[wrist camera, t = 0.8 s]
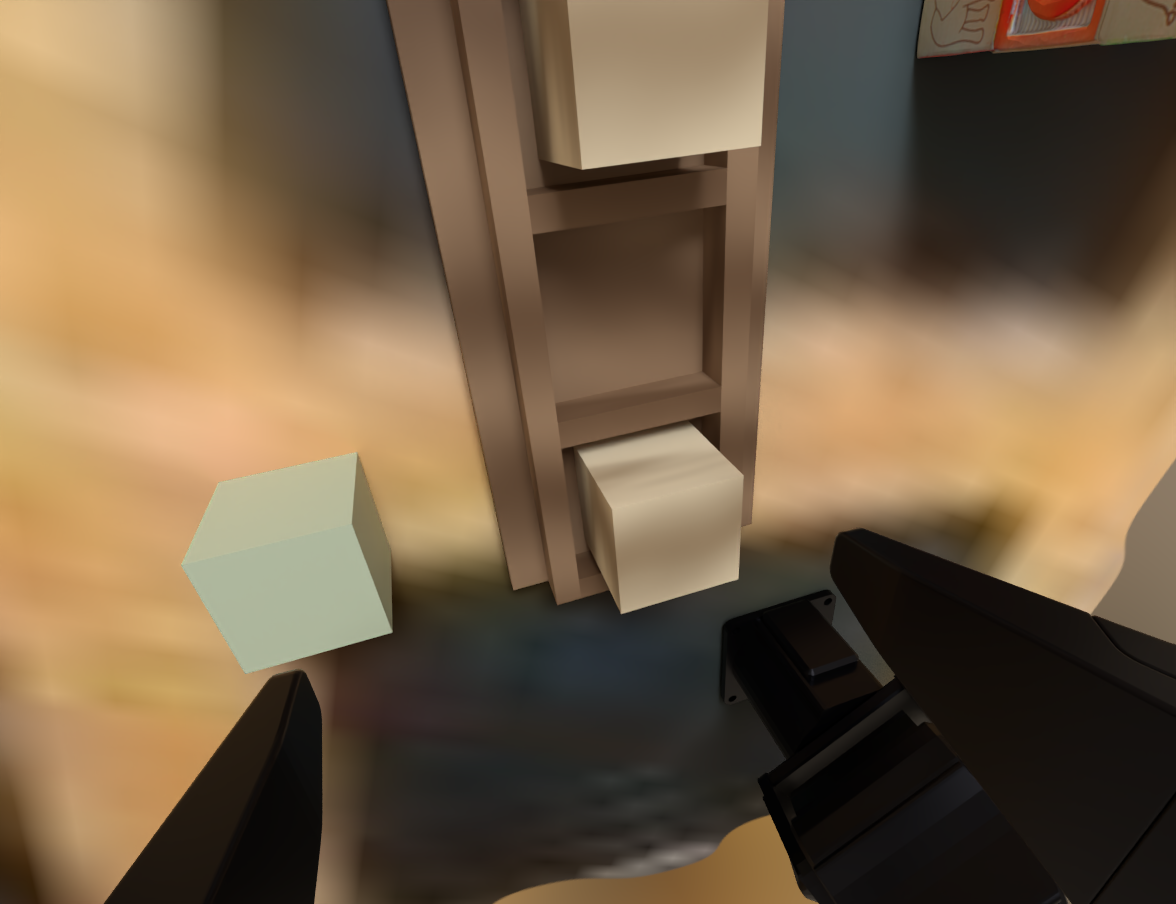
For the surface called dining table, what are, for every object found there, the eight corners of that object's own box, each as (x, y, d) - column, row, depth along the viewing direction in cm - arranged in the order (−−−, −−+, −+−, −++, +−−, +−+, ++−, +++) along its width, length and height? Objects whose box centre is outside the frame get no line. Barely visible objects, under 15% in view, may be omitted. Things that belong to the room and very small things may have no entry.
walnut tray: (740, 511, 27) (769, 543, 25) (509, 574, 25) (520, 615, 23) (773, -130, 16) (830, -167, 14) (360, -120, 14) (356, -162, 12)
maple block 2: (684, 510, 25) (738, 579, 21) (584, 537, 24) (621, 614, 20) (684, 417, 23) (743, 475, 19) (572, 442, 22) (612, 509, 18)
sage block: (390, 549, 23) (392, 632, 19) (268, 580, 22) (245, 674, 18) (357, 450, 21) (351, 524, 17) (219, 480, 20) (181, 565, 16)
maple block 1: (681, 140, 18) (761, 145, 14) (538, 158, 17) (582, 169, 13) (680, -51, 16) (773, -105, 12) (513, -42, 15) (558, -98, 11)
